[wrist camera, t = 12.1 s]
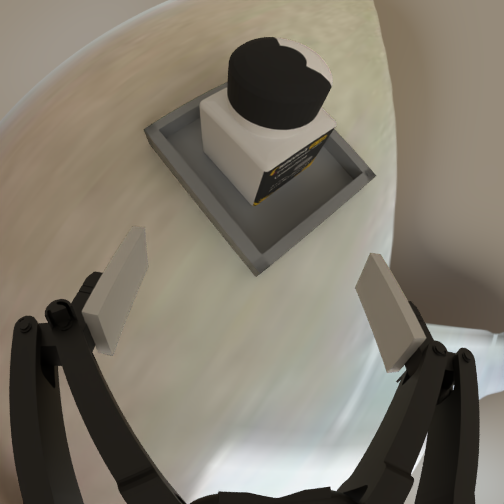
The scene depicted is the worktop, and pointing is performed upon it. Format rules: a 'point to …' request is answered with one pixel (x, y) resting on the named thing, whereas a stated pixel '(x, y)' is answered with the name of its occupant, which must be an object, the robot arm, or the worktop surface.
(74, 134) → the worktop surface
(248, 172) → the medicine bottle
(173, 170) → the tray
